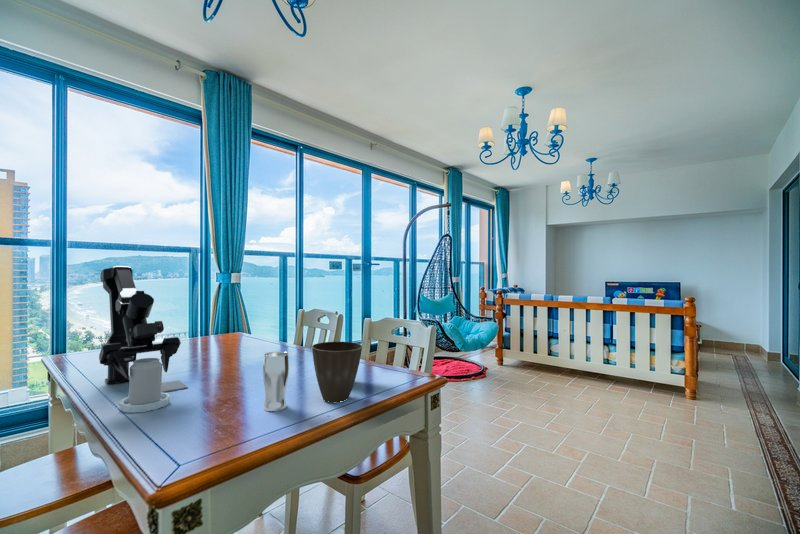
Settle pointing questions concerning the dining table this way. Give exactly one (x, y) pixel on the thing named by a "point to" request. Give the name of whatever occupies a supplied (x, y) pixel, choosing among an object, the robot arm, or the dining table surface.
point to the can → (145, 381)
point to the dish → (130, 408)
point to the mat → (172, 386)
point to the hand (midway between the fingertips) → (147, 374)
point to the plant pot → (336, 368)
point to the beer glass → (275, 380)
